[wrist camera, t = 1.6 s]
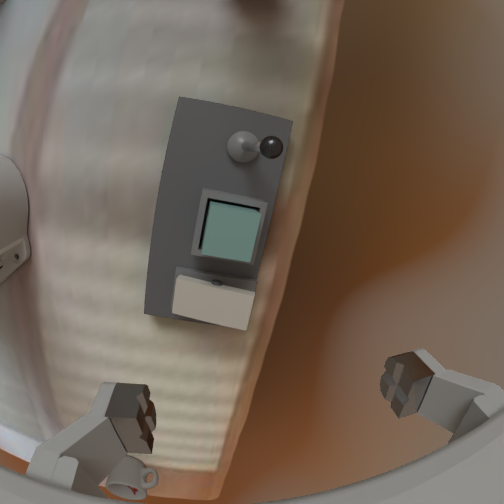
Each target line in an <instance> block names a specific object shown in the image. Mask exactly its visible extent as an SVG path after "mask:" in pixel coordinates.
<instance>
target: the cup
mask: <svg viewBox="0 0 504 504" xmlns="http://www.w3.org/2000/svg"><path fill="white" fill-rule="evenodd" d="M149 473H153V480H152V481H151V482H149V483H147V482H146V477H147V475H148V474H149ZM158 481H159V476H158V473H157V472H156V470H154V469H153V468H145V466H144V464H143V463H142V462H141V461H140V460H138V459H136V458H134V457H130V456H125V457H124V458H123V459H122V460H121V461H120V462H119V463H118V465H117V466H116V467H115V468H114V469H113V470H112V471H111V472H110V473H109V476H108V479H107V482H106V488H107V489H108V490H109V491H110V492H111V493H113V494H114V495H116V496H119V497H122V498H126V499H130V500H141V499H144V498H146V496H147V489H149V488H153V487H155V486H156V485H157V484H158Z"/></svg>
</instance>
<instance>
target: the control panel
mask: <svg viewBox="0 0 504 504" xmlns="http://www.w3.org/2000/svg"><path fill="white" fill-rule="evenodd" d="M292 124H293V121H290V120H287V119H283V118H279V117H276V116H272V115H268V114H264V113H260V112H256V111H252V110H247V109H243V108H239V107H234V106H229V105H224V104H219V103H214V102H209V101H203V100H197V99H191V98H185V97H179V99H178V103H177V107H176V111H175V115H174V119H173V124H172V128H171V132H170V137H169V141H168V146H167V150H166V155H165V160H164V165H163V170H162V176H161V181H160V186H159V192H158V198H157V204H156V210H155V217H154V224H153V231H152V238H151V246H150V254H149V263H148V272H147V282H146V294H145V306H144V314H149V315H154V316H160V317H166V318H172V319H179V320H185V321H192V322H199V323H206V324H214V323H209V322H205V321H201V320H197V319H193V318H189V317H185V316H181V315H178V314H174V313H172V309H173V300H174V293H175V285H176V278H177V277H178V276H179V275H183V276H188V277H192V278H196V279H200V280H204V281H208V282H211V280H213V279H217V280H220V281H222V282H223V285H226V286H230V287H234V288H239V289H243V290H248V291H252V292H255V288H256V284H257V281H256V280H257V276H258V271H259V267H260V263H261V259H262V255H263V250H264V246H265V242H266V237H267V233H268V229H269V225H270V220H271V216H272V212H273V207H274V203H275V199H276V194H277V190H278V186H279V181H280V177H281V172H282V168H283V164H284V159H285V155H286V150H287V146H288V141H289V137H290V133H291V128H292ZM267 136H276V137H278V138H279V139H280V140H281V141H282V143H283V152H282V154H281V155H280V156H279V157H277V158H275V159H268V158H266V157H264V156H263V155H262V154H261V152H248V151H244V150H242V148H241V145H242V143H243V142H245V141H262V139H264V138H265V137H267ZM210 201H214V202H220V203H225V204H230V205H236V206H241V207H246V208H251V209H256V210H257V211H258V212H259V213H260V214H261V217H260V222H259V226H258V231H257V235H256V239H255V244H254V248H253V253H252V257H251V261H250V262H245V261H239V260H233V259H226V258H220V257H214V256H208V255H202V254H201V252H202V241H203V235H204V230H205V225H206V219H207V214H208V209H209V204H210ZM214 325H218V324H214ZM221 326H222V325H221Z"/></svg>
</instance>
